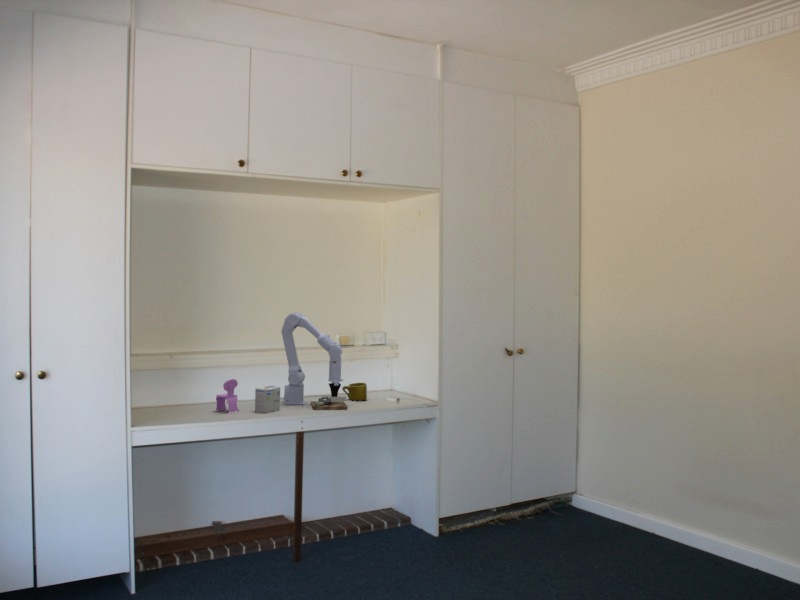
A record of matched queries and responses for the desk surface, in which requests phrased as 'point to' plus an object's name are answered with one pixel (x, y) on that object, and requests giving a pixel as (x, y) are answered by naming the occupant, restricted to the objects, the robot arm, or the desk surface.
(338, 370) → the robot arm
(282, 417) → the desk surface
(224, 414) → the desk surface
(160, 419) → the desk surface
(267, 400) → the light bulb box
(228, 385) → the toy chair
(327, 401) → the grey lever handle
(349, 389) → the mug
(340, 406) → the base
